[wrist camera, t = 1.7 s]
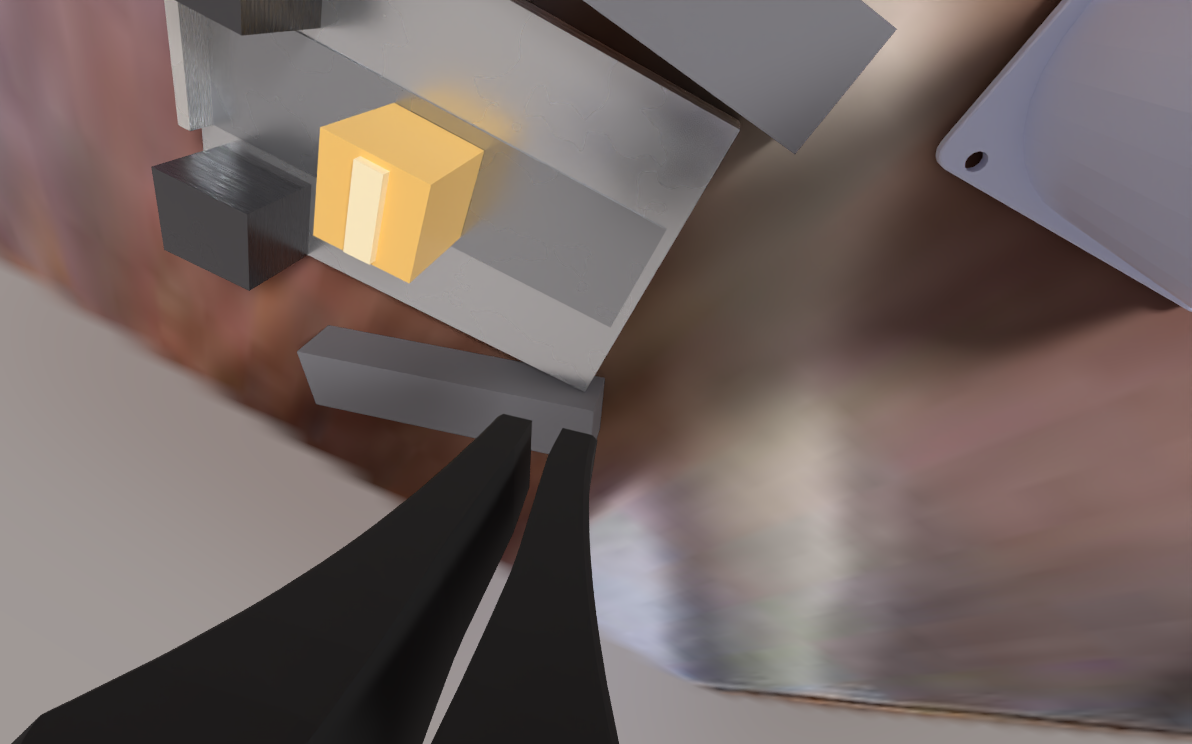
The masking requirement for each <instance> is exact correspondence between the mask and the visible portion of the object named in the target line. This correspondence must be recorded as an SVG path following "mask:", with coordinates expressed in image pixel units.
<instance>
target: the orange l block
mask: <svg viewBox="0 0 1192 744" xmlns="http://www.w3.org/2000/svg"><path fill="white" fill-rule="evenodd" d="M483 154H484V150H482V149H480V148H478V147H477V146H475V145H473V144H471V143H469V142H467V141H465V140H463V139H462V138H460V137H458V136H456V135H454V134H452V133H450V132H448V131H446V130H445V129H443V128H441V127H439V126H437V125H435V124H433V123H431V122H430V121H428V120H426V119H424V118H422V117H420V116H418V115H416V114H415V113H413V112H411V111H409V110H407V109H405V108H403V107H401V106H399V105H398V104H396V103H392V104H389V105H386V106H383V107H380V108H377V109H374V110H371V111H368V112H365V113H362V114H359V115H355V116H352V117H349V118H346V119H343V120H340V121H337V122H334V123H331V124H328V125H325V126H322V127H320V137H319V152H318V168H317V183H316V199H315V215H314V230H313V236H315V237H317V238H319V239H321V240H323V241H325V242H327V243H329V244H331V245H333V246H335V247H337V248H339V249H341V250H343V252H345V253H347V254H349V255H351V256H353V257H355V258H357V259H359V260H361V261H363V262H365V263H367V264H369V265H370V264H371V265H373V266H375V267H377V268H379V269H381V270H383V271H385V272H387V273H389V274H391V275H393V276H395V277H397V278H399V279H401V280H403V281H405V282H407V283H410V282H412V281H413V280H414V279H415V278H416V277H417V276H418V275H419V274H420V273H422V272H423V271H424V270H425V269H426V268H427V267H428V266H429V265H430V264H432V263H433V262H434V261H435V260H436V259H437V258H438V257H439V256H441V255H442V254H443V253H444V252H445V251H446V250H447V249H448V248H449V247H451V246H452V245H453V244H454V243H455V242H456V241H457V240H458V239H459V238H460V236H461V233H462V229H463V226H464V222H465V219H466V215H467V211H468V208H469V204H470V201H471V197H472V193H473V190H474V186H475V183H476V179H477V175H478V172H479V168H480V165H481V161H482V157H483Z"/></svg>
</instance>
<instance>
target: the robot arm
mask: <svg viewBox="0 0 1192 744" xmlns="http://www.w3.org/2000/svg"><path fill="white" fill-rule="evenodd" d="M979 151H981V152H983V158H982V159H981V161H980V162H979V163H978V164H977V165H976V166H974V167H971V168H965V162H966V160H967V158H968V157H969V156H970V155H972V154H973V153H975V152H979ZM935 156H936V160H937V162H938V163H939V164H940V165H941V166H942V167H943V168H944V169H945V170H947V171H948V172H950V173H952V174H954V175H955V176H957V177H959V178H960V179H962V180H964V181H966V182H967V183H969V184H971V185H973V186H974V187H976V188H978V189H979V190H981V191H983V192H985V193H986V194H988V195H990V196H992V197H993V198H995V199H997V200H998V201H1000V202H1002V203H1004V204H1005V205H1007V206H1009V207H1011V208H1012V209H1014V210H1016V211H1017V212H1019V213H1021V214H1023V215H1024V216H1026V217H1028V218H1030V219H1031V220H1033V221H1035V222H1036V223H1038V224H1040V225H1042V226H1043V227H1045V228H1047V229H1049V230H1050V231H1052V232H1054V233H1055V234H1057V235H1059V236H1061V237H1062V238H1064V239H1066V240H1068V241H1069V242H1071V243H1073V244H1074V245H1076V246H1078V247H1080V248H1081V249H1083V250H1085V251H1086V252H1088V253H1090V254H1092V255H1093V256H1095V257H1097V258H1099V259H1100V260H1102V261H1104V262H1105V263H1107V264H1109V265H1111V266H1112V267H1114V268H1116V269H1118V270H1119V271H1121V272H1123V273H1124V274H1126V275H1128V276H1130V277H1131V278H1133V279H1135V280H1137V281H1138V282H1140V283H1142V284H1143V285H1145V286H1147V287H1149V288H1150V289H1152V290H1154V291H1156V292H1157V293H1159V294H1161V295H1162V296H1164V297H1166V298H1168V299H1169V300H1171V301H1173V302H1175V303H1176V304H1178V305H1180V306H1181V307H1183V308H1185V309H1187V310H1188V311H1191V312H1192V0H1062V1H1061V2H1060V3H1059V4H1058V5H1057V7H1056V8H1055V9H1054V10H1053V11H1052V12H1051V14H1050V15H1049V16H1048V17H1047V18H1046V19H1045V21H1044V22H1043V23H1042V24H1041V25H1040V26H1039V28H1038V29H1037V30H1036V31H1035V32H1034V33H1033V35H1032V36H1031V37H1030V38H1029V39H1028V40H1027V42H1026V43H1025V44H1024V45H1023V46H1022V47H1021V49H1020V50H1019V51H1018V52H1017V53H1016V54H1015V56H1014V57H1013V58H1012V59H1011V60H1010V61H1009V63H1008V64H1007V65H1006V66H1005V67H1004V68H1003V70H1002V71H1001V72H1000V73H999V74H998V75H997V77H996V78H995V79H994V80H993V81H992V82H991V84H990V85H989V86H988V87H987V88H986V89H985V91H984V92H983V93H982V94H981V95H980V96H979V98H978V99H977V100H976V101H975V102H974V103H973V105H972V106H971V107H970V108H969V109H968V110H967V112H966V113H965V114H964V115H963V116H962V117H961V119H960V120H959V121H958V122H957V123H956V124H955V126H954V127H953V128H952V129H951V130H950V131H949V133H948V134H947V135H946V136H945V137H944V138H943V140H942V141H941V142H940V144H939V146H938V147H937V150H936V155H935ZM531 437H532V420H528V419H524V418H520V417H515V416H511V415H507V414H502V415H500V416H498V417H497V418H496V419H495V420H494V421H493V422H492V423H491V424H490V425H489V426H488V427H487V428H486V429H485V430H484V431H483V432H482V433H481V434H480V435H479V436H478V437H477V438H476V439H475V440H474V441H473V442H472V443H471V444H470V445H468V446H467V447H466V448H465V449H464V450H463V451H462V452H461V453H460V454H459V455H458V456H457V457H456V458H455V459H453V460H452V461H451V462H450V463H449V464H448V465H447V466H446V467H444V468H443V469H442V470H441V471H440V472H439V473H438V474H436V475H435V476H434V477H433V478H432V479H431V480H430V481H428V482H427V483H426V484H425V485H424V486H423V487H421V488H420V489H419V490H418V491H417V492H416V493H414V494H413V495H412V496H411V497H409V498H408V499H407V500H406V501H404V502H403V503H402V504H400V505H399V506H398V507H397V508H395V509H394V510H393V511H392V512H390V513H389V514H388V515H387V516H385V517H384V518H383V519H382V520H380V521H379V522H378V523H377V524H375V525H374V526H372V527H371V528H370V529H368V530H367V531H366V532H364V533H363V534H362V535H360V536H359V537H357V538H356V539H355V540H353V541H352V542H350V543H349V544H348V545H346V546H345V547H343V548H342V549H340V550H339V551H337V552H336V553H335V554H333V555H332V556H330V557H329V558H327V559H326V560H324V561H323V562H321V563H320V564H318V565H317V566H315V567H314V568H312V569H310V570H309V571H307V572H306V573H304V574H303V575H301V576H300V577H298V578H296V579H295V580H293V581H292V582H290V583H288V584H287V585H285V586H284V587H282V588H281V589H279V590H277V591H276V592H274V593H272V594H271V595H269V596H267V597H266V598H264V599H263V600H261V601H259V602H257V603H256V604H254V605H252V606H251V607H249V608H247V609H245V610H244V611H242V612H240V613H238V614H236V615H235V616H233V617H231V618H229V619H227V620H226V621H224V622H222V623H220V624H219V625H217V626H215V627H213V628H211V629H210V630H208V631H206V632H204V633H202V634H200V635H199V636H197V637H195V638H193V639H192V640H190V641H188V642H186V643H184V644H182V645H180V646H179V647H177V648H175V649H173V650H171V651H169V652H167V653H165V654H163V655H162V656H160V657H158V658H156V659H154V660H152V661H150V662H148V663H146V664H144V665H142V666H140V667H138V668H136V669H134V670H131V671H130V672H127V673H126V674H123V675H122V676H119V677H117V678H115V679H113V680H111V681H109V682H107V683H105V684H103V685H101V686H99V687H97V688H95V689H93V690H91V691H89V692H87V693H85V694H83V695H81V696H79V697H77V698H75V699H73V700H71V701H68V702H66V703H64V704H62V705H60V706H58V707H56V708H54V709H52V710H50V711H48V712H46V713H44V714H42V715H41V716H40V717H38V718H37V719H36V720H35V721H34V722H33V723H32V724H31V725H30V726H29V727H28V728H27V729H26V730H25V731H24V732H23V733H22V734H21V735H20V736H19V737H18V738H17V739H16V740H15V741H14V742H13V743H12V744H422V743H423V741H424V738H425V735H426V733H427V730H428V727H429V724H430V722H431V719H432V716H433V713H434V711H435V708H436V705H437V703H438V700H439V697H440V695H441V692H442V690H443V687H444V684H445V681H446V679H447V676H448V674H449V671H450V668H451V666H452V663H453V660H454V657H455V656H456V653H457V651H458V649H459V646H460V644H461V642H462V639H463V637H464V635H465V632H466V630H467V628H468V626H469V624H470V622H471V620H472V618H473V616H474V614H475V612H476V610H477V608H478V605H479V603H480V601H481V599H482V597H483V595H484V593H485V591H486V589H487V587H488V585H489V582H490V580H491V579H492V576H493V574H494V572H495V570H496V568H497V566H498V564H499V562H500V560H501V558H502V555H503V553H504V551H505V549H506V547H507V545H508V543H509V541H510V539H511V536H512V534H513V532H514V529H515V526H516V524H517V521H518V518H519V515H520V512H521V509H522V507H523V504H524V501H525V498H526V495H527V492H528V489H529V482H530V459H531ZM596 446H597V440H596V438H595V437H594V436H593V435H590V434H586V433H582V432H578V431H574V430H570V429H565V428H562V430H561V432H560V434H559V435H558V437H557V439H556V441H555V443H554V445H553V447H552V449H551V451H550V453H549V455H548V458H547V461H546V464H545V467H544V470H543V474H542V477H541V480H540V483H539V486H538V490H537V493H536V496H535V499H534V503H533V506H532V509H531V512H530V515H529V519H528V522H527V525H526V528H525V532H524V535H523V538H522V541H521V545H520V548H519V551H518V554H517V556H516V559H515V562H514V564H513V567H512V570H511V573H510V575H509V577H508V579H507V582H506V584H505V586H504V589H503V591H502V593H501V595H500V597H499V600H498V602H497V604H496V607H495V609H494V611H493V613H492V616H491V618H490V620H489V622H488V625H487V627H486V629H485V631H484V633H483V636H482V638H481V640H480V642H479V644H478V646H477V648H476V651H475V653H474V655H473V657H472V659H471V661H470V663H469V666H468V668H467V670H466V672H465V674H464V676H463V679H462V681H461V683H460V685H459V687H458V689H457V691H456V693H455V695H454V698H453V699H452V701H451V703H450V706H449V708H448V710H447V712H446V714H445V716H444V718H443V720H442V722H441V724H440V726H439V728H438V730H437V732H436V734H435V737H434V739H433V741H432V743H431V744H619V741H618V736H617V731H616V726H615V722H614V716H613V711H612V706H611V701H610V696H609V691H608V687H607V681H606V675H605V669H604V663H603V657H602V651H601V645H600V638H599V631H598V624H597V616H596V608H595V600H594V591H593V580H592V569H591V556H590V538H589V489H590V483H591V477H592V471H593V464H594V458H595V452H596Z"/></svg>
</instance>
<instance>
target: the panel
mask: <svg viewBox="0 0 1192 744" xmlns="http://www.w3.org/2000/svg"><path fill="white" fill-rule="evenodd" d="M164 3H165V12H166V20H167V29H168V38H169V47H170V56H171V65H172V73H173V82H174V91H175V100H176V109H177V117H178V125H179V126H181V127H183V128H185V129H187V130H189V131H192V130H196V129H200V128H202V137H203V149H204V151H202V152H198V153H195V154H192V155H189V156H185V157H182V158H179V159H175V160H172V161H169V162H166V163H162V164H159V165H156V166H152V174H153V180H154V186H155V193H156V199H157V206H158V212H159V219H160V225H161V232H162V238H163V244H164V250H166V251H168V252H170V253H172V254H174V255H176V256H179V257H181V258H183V259H185V260H187V261H189V262H191V263H193V264H195V265H197V266H199V267H201V268H203V269H205V270H208V271H210V272H212V273H214V274H216V275H218V276H220V277H222V278H224V279H226V280H228V281H230V282H232V283H234V284H236V285H239V286H241V287H243V288H245V289H247V290H249V291H250V290H251V289H253V288H255V287H256V286H258V285H260V284H261V283H263V282H264V281H266V280H268V279H269V278H271V277H272V276H274V275H276V274H277V273H279V272H281V271H282V270H284V269H285V268H287V267H289V266H290V265H292V264H293V263H295V262H297V261H298V260H300V259H301V258H303V257H305V256H306V255H309V256H311V257H313V258H315V259H317V260H319V261H321V262H323V263H325V264H327V265H329V266H331V267H333V268H335V269H337V270H339V271H341V272H343V273H345V274H347V275H349V276H351V277H353V278H355V279H357V280H359V281H361V282H363V283H365V284H368V285H370V286H372V287H374V288H376V289H378V290H380V291H382V292H384V293H386V294H388V295H390V296H392V297H394V298H396V299H398V300H400V301H402V302H404V303H406V304H408V305H410V306H412V307H414V308H416V309H418V310H420V311H422V312H424V313H426V314H428V315H430V316H432V317H434V318H436V319H438V320H440V321H442V322H444V323H446V324H448V325H450V326H452V327H454V328H456V329H458V330H460V331H462V332H464V333H466V334H468V335H470V336H473V337H475V338H477V339H479V340H481V341H483V342H485V343H487V344H489V345H491V346H493V347H495V348H497V349H499V350H501V351H503V352H505V353H507V354H509V355H511V356H513V357H515V358H517V359H519V360H521V361H523V362H525V363H527V364H529V365H531V366H533V367H535V368H537V369H539V370H541V371H543V372H545V373H547V374H549V375H551V376H553V377H555V378H557V379H559V380H561V381H563V382H565V383H567V384H569V385H571V386H573V387H575V388H578V389H580V390H582V391H584V392H585V391H586V389H587V387H588V386H589V384H590V382H591V381H592V379H593V377H594V376H595V374H596V372H597V371H598V369H599V367H600V366H601V364H602V362H603V360H604V359H605V357H606V355H607V354H608V352H609V350H610V349H611V347H612V345H613V344H614V342H615V340H616V339H617V337H618V335H619V333H620V332H621V330H622V328H623V327H624V325H625V323H626V322H627V320H628V318H629V317H630V315H631V313H632V312H633V310H634V308H635V306H636V305H637V303H638V301H639V300H640V298H641V296H642V295H643V293H644V291H645V290H646V288H647V286H648V285H649V283H650V281H651V279H652V278H653V276H654V274H655V273H656V271H657V269H658V268H659V266H660V264H661V263H662V261H663V259H664V258H665V256H666V254H667V252H668V251H669V249H670V247H671V246H672V244H673V242H674V241H675V239H676V237H677V236H678V234H679V232H680V231H681V229H682V227H683V225H684V224H685V222H686V220H687V219H688V217H689V215H690V214H691V212H692V210H693V209H694V207H695V205H696V204H697V202H698V200H699V198H700V197H701V195H702V193H703V192H704V190H705V188H706V187H707V185H708V183H709V182H710V180H711V178H712V177H713V175H714V173H715V171H716V170H717V168H718V166H719V165H720V163H721V161H722V160H723V158H724V156H725V155H726V153H727V151H728V150H729V148H730V146H731V144H732V143H733V141H734V139H735V138H736V136H737V134H738V133H739V131H740V121H739V120H737V119H735V118H734V117H732V116H730V115H728V114H727V113H725V112H723V111H721V110H719V109H718V108H716V107H714V106H712V105H711V104H709V103H707V102H705V101H704V100H702V99H700V98H698V97H696V96H695V95H693V94H691V93H689V92H688V91H686V90H684V89H682V88H681V87H679V86H677V85H675V84H673V83H672V82H670V81H668V80H666V79H665V78H663V77H661V76H659V75H658V74H656V73H654V72H652V71H650V70H649V69H647V68H645V67H643V66H642V65H640V64H638V63H636V62H635V61H633V60H631V59H629V58H627V57H626V56H624V55H622V54H620V53H619V52H617V51H615V50H613V49H612V48H610V47H608V46H606V45H604V44H603V43H601V42H599V41H597V40H596V39H594V38H592V37H590V36H589V35H587V34H585V33H583V32H581V31H580V30H578V29H576V28H574V27H573V26H571V25H569V24H567V23H566V22H564V21H562V20H560V19H558V18H557V17H555V16H553V15H551V14H550V13H548V12H546V11H544V10H543V9H541V8H539V7H537V6H535V5H534V4H532V3H530V2H528V1H527V0H164ZM392 103H396V104H398V105H399V106H401V107H403V108H405V109H407V110H409V111H411V112H413V113H415V114H416V115H418V116H420V117H422V118H424V119H426V120H428V121H430V122H431V123H433V124H435V125H437V126H439V127H441V128H443V129H445V130H446V131H448V132H450V133H452V134H454V135H456V136H458V137H460V138H462V139H463V140H465V141H467V142H469V143H471V144H473V145H475V146H477V147H478V148H480V149H482V150H484V154H483V157H482V161H481V165H480V168H479V172H478V175H477V179H476V183H475V186H474V190H473V193H472V197H471V201H470V204H469V208H468V211H467V215H466V219H465V222H464V226H463V229H462V233H461V236H460V238H459V239H458V240H457V241H456V242H455V243H454V244H453V245H452V246H451V247H449V248H448V249H447V250H446V251H445V252H444V253H443V254H442V255H441V256H439V257H438V258H437V259H436V260H435V261H434V262H433V263H432V264H430V265H429V266H428V267H427V268H426V269H425V270H424V271H423V272H422V273H420V274H419V275H418V276H417V277H416V278H415V279H414V280H413V281H412V282H410V283H407V282H405V281H403V280H401V279H399V278H397V277H395V276H393V275H391V274H389V273H387V272H385V271H383V270H381V269H379V268H377V267H375V266H373V265H371V264H370V265H369V264H367V263H365V262H363V261H361V260H359V259H357V258H355V257H353V256H351V255H349V254H347V253H345V252H343V250H341V249H339V248H337V247H335V246H333V245H331V244H329V243H327V242H325V241H323V240H321V239H319V238H317V237H315V236H313V230H314V215H315V199H316V183H317V168H318V152H319V137H320V127H322V126H325V125H328V124H331V123H334V122H337V121H340V120H343V119H346V118H349V117H352V116H355V115H359V114H362V113H365V112H368V111H371V110H374V109H377V108H380V107H383V106H386V105H389V104H392Z"/></svg>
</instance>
